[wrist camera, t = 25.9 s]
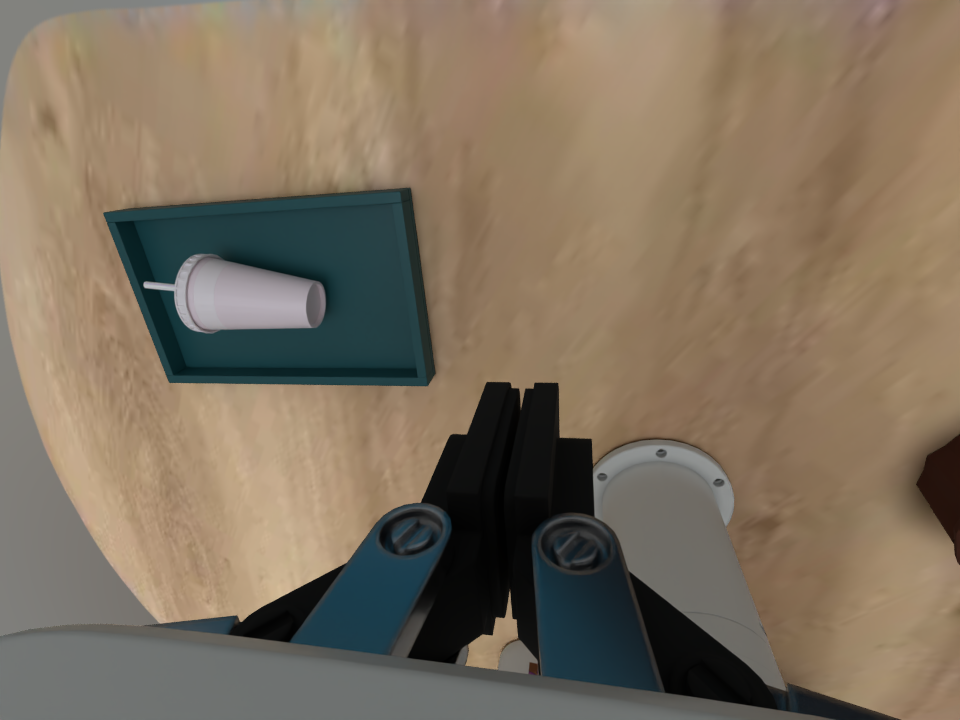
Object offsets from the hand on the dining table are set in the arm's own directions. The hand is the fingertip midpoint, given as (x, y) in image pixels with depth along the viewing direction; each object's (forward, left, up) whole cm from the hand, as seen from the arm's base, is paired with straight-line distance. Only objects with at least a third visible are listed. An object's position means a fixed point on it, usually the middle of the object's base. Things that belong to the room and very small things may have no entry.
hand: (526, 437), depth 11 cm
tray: (-4, +24, -27) cm, 36 cm away
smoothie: (-4, +19, -24) cm, 31 cm away
